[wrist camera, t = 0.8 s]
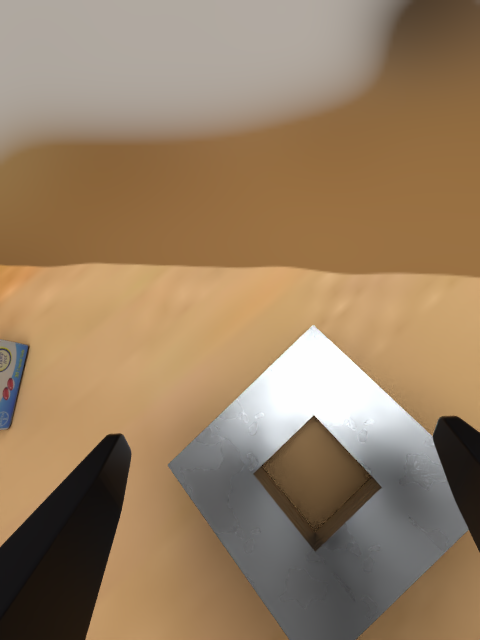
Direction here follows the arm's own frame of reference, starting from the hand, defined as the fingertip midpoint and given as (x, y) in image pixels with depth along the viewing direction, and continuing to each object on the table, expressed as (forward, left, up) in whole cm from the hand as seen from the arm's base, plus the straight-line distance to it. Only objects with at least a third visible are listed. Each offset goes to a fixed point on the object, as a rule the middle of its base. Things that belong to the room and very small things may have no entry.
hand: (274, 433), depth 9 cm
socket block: (-3, +2, -15) cm, 16 cm away
